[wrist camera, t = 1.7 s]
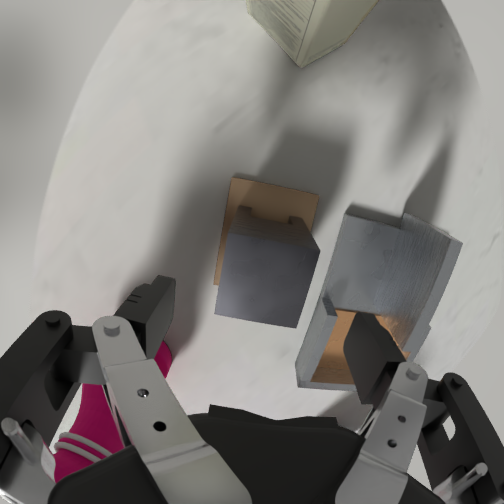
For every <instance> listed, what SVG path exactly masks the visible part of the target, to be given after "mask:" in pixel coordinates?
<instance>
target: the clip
mask: <svg viewBox="0 0 504 504" xmlns="http://www.w3.org/2000/svg"><path fill="white" fill-rule="evenodd" d="M251 210H252V207H247V206H241V205H239V206H238V208H237V211H236V213H235V216H234V218H233V221H232V223H231V226H230V229H229V231H228V235H227V241H226V247H225V252H224V258H223V264H222V270H221V276H220V282H219V288H218V294H217V300H216V307H215V313H214V314H217V315H222V316H227V317H232V318H237V319H243V320H248V321H254V322H259V323H265V324H271V325H277V326H284V327H290V328H296V327H297V324H298V321H299V318H300V315H301V312H302V309H303V306H304V303H305V300H306V297H307V294H308V290H309V287H310V284H311V281H312V277H313V274H314V271H315V267H316V264H317V261H318V257H319V254H320V249H319V247H318V246H317V244H316V242H315V240H314V238H313V236H312V235H311V233H310V231H309V229H308V227H307V226H306V224H305V222H304V220H303V218H300V217H295V216H291V215H289V220H288V224H287V223H282V222H278V221H273V220H268V219H263V218H258V217H253V216H251Z"/></svg>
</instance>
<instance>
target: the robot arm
mask: <svg viewBox="0 0 504 504" xmlns="http://www.w3.org/2000/svg"><path fill="white" fill-rule="evenodd" d="M175 287H176V280H175V279H174V278H169V277H165V276H160V275H158V276H157V277H156V279H155V280H154V281H153V283H152V284H151V285H149V284H143V285H141V286H139V287H137V288H135V289H134V291H133V292H132V293H131V295H129V297H128V298H127V300H125V302H124V303H123V304H122V305H121V306H120V308H119V309H118V310H117V311H116V313H115V314H114V315H113V316H105V317H101V318H99V319H97V320H96V321H95V322H94V323H93V325H92V327H88V326H76V325H72V322H71V318H70V316H69V315H68V314H67V313H65V312H62V311H57V310H53V311H47V312H44V313H42V314H41V315H40V316H38V317H37V318H36V319H35V321H34V322H33V323H32V324H31V325H30V326H29V327H28V328H27V329H26V330H25V331H24V332H23V333H22V334H21V336H20V337H19V338H18V339H17V340H16V341H15V342H14V343H13V344H12V345H11V347H10V348H9V349H8V350H7V351H6V352H5V353H4V355H3V356H2V357H1V358H0V497H1V498H3V499H4V500H6V501H7V502H10V503H14V504H17V503H19V504H504V447H503V445H502V443H501V441H500V439H499V437H498V435H497V433H496V431H495V429H494V427H493V426H492V424H491V422H490V420H489V418H488V417H487V415H486V413H485V411H484V410H483V408H482V406H481V405H480V403H479V402H478V400H477V398H476V396H475V395H474V393H473V391H472V390H471V388H470V387H469V385H468V383H467V382H466V381H465V380H464V379H463V378H462V377H461V376H459V375H457V374H455V373H446V374H445V375H444V376H443V378H442V379H441V381H436V380H431V379H428V375H427V373H426V371H425V370H424V369H423V368H422V367H421V366H419V365H417V364H415V363H412V362H407V361H406V359H405V357H404V355H403V354H402V352H401V351H400V349H399V347H398V346H397V344H396V342H395V341H394V340H393V337H392V336H391V334H390V333H389V331H387V330H386V329H385V328H384V327H383V326H382V325H380V323H379V321H378V320H377V318H376V317H375V315H374V314H371V313H364V312H357V313H356V314H355V316H354V319H353V321H352V324H351V326H350V328H349V331H348V333H347V335H346V338H345V340H344V344H343V352H344V355H345V358H346V361H347V364H348V366H349V369H350V372H351V375H352V378H353V381H354V383H355V386H356V389H357V392H358V395H359V398H360V401H361V404H373V408H372V409H371V410H370V412H369V414H368V416H367V417H366V419H365V421H364V423H363V424H362V426H361V428H360V430H359V431H358V433H355V432H353V431H351V430H348V429H346V428H343V427H339V426H338V424H337V420H336V417H312V416H306V417H299V418H292V419H284V420H273V419H269V418H266V417H263V416H260V415H257V414H254V413H251V412H248V411H245V410H241V409H234V408H228V407H222V406H217V405H211V404H210V407H209V412H208V413H200V414H192V415H186V413H185V412H184V410H183V409H182V407H181V405H180V404H179V402H178V400H177V399H176V397H175V395H174V394H173V392H172V390H171V389H170V387H169V385H168V383H167V382H166V380H165V378H164V376H163V375H162V373H161V371H160V369H159V367H158V365H157V364H156V362H155V360H154V358H155V356H156V354H157V351H158V349H159V347H160V345H161V343H162V341H163V339H164V337H165V334H166V332H167V330H168V328H169V326H170V324H171V321H172V317H173V312H174V299H175ZM81 383H85V384H96V385H102V387H103V390H104V393H105V396H106V399H107V402H108V405H109V408H110V411H111V413H112V416H113V419H114V422H115V424H116V427H117V430H118V433H119V436H120V439H121V441H122V444H123V446H124V448H123V449H121V450H119V451H118V452H116V453H114V454H112V455H110V456H108V457H106V458H104V459H102V460H100V461H97V462H95V463H93V464H91V465H89V466H87V467H85V468H83V469H80V470H78V471H76V472H74V473H71V474H69V475H67V476H65V477H64V478H62V479H61V480H60V481H58V482H57V483H55V479H54V470H55V458H54V456H53V454H52V452H51V451H50V449H49V446H50V444H51V442H52V439H53V437H54V435H55V433H56V431H57V429H58V427H59V425H60V423H61V421H62V419H63V417H64V415H65V413H66V411H67V409H68V407H69V405H70V404H71V402H72V400H73V398H74V396H75V394H76V392H77V390H78V389H79V387H80V385H81ZM449 416H451V418H452V420H453V422H454V424H455V429H456V430H455V434H454V436H453V438H452V439H451V440H450V441H449V438H448V436H447V434H446V432H445V429H444V427H443V425H442V424H443V423H444V422H445V420H446V419H447V418H448V417H449ZM416 444H417V445H418V448H419V451H420V453H421V456H422V460H423V463H424V466H425V469H426V472H427V475H428V479H429V482H430V485H431V489H432V491H431V490H429V489H428V488H426V487H425V486H424V485H422V484H421V483H419V482H418V481H417V480H416V479H414V478H413V477H412V476H410V475H409V474H408V473H407V470H408V466H409V464H410V461H411V459H412V456H413V453H414V450H415V447H416Z"/></svg>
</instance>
